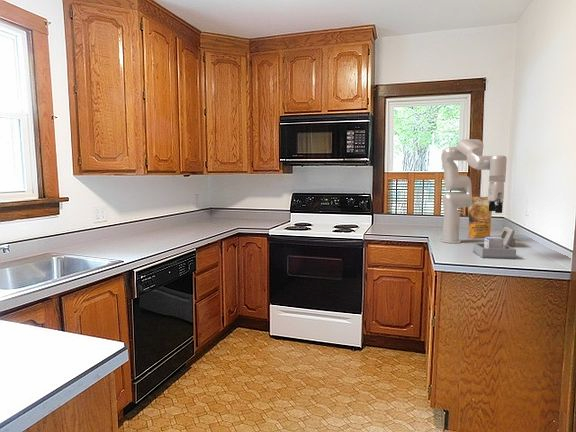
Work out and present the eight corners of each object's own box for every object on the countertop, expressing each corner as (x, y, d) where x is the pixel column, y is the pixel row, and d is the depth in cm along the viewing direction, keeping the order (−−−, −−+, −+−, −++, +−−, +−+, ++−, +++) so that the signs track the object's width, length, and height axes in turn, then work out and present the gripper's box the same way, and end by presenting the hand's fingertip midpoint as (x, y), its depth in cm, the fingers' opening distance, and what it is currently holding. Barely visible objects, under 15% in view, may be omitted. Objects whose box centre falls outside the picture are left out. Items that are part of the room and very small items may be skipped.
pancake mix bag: (462, 236, 267) (464, 196, 264) (488, 236, 270) (490, 196, 267) (468, 238, 261) (470, 197, 258) (494, 237, 263) (496, 196, 260)
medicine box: (497, 252, 209) (498, 236, 208) (502, 254, 204) (503, 238, 203) (483, 252, 208) (484, 236, 207) (488, 254, 204) (489, 238, 203)
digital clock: (497, 242, 246) (498, 226, 244) (514, 243, 241) (515, 226, 240) (497, 246, 231) (498, 229, 230) (515, 248, 227) (516, 230, 226)
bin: (472, 252, 215) (473, 243, 215) (503, 252, 213) (504, 244, 212) (482, 258, 200) (482, 248, 199) (515, 259, 197) (516, 249, 197)
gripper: (483, 179, 211) (482, 210, 213) (495, 179, 194) (493, 213, 196) (498, 179, 210) (496, 210, 212) (511, 179, 193) (509, 213, 195)
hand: (495, 211), depth 204 cm, fingers open, 9 cm apart
